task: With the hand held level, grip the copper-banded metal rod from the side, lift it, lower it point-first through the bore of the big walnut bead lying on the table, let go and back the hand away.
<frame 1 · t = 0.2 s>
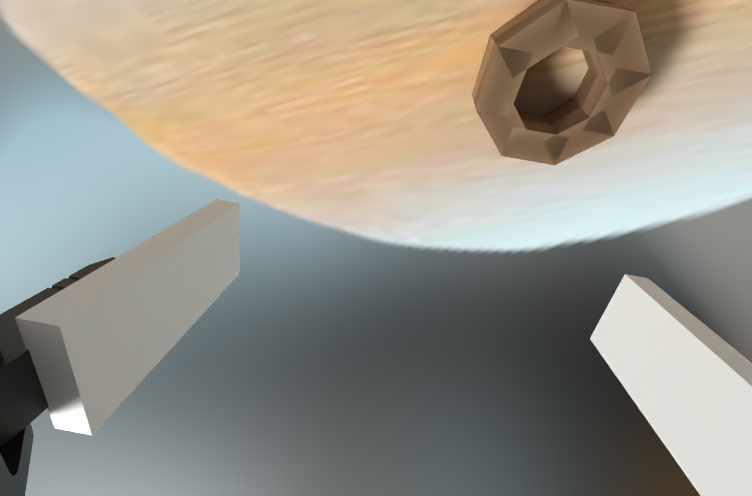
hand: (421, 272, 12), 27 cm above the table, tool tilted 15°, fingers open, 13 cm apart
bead: (545, 77, 32), on the table
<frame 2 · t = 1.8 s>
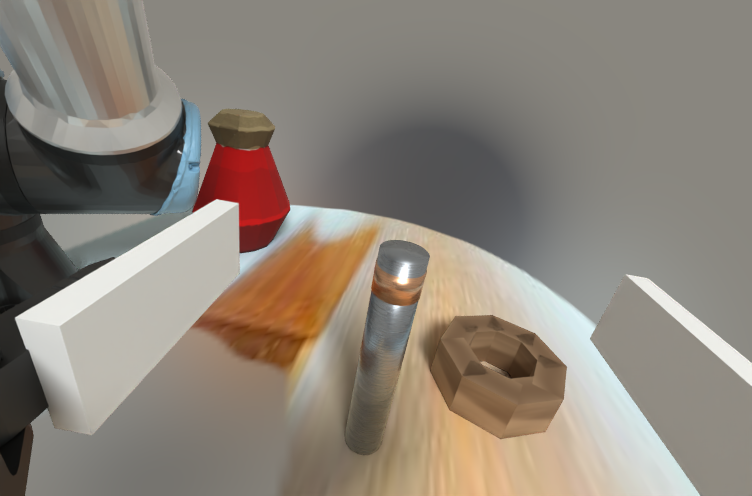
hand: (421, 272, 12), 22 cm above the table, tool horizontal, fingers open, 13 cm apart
bottle: (245, 241, 58), on the table
copper-banded metal rod: (363, 436, 30), on the table
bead: (489, 384, 38), on the table
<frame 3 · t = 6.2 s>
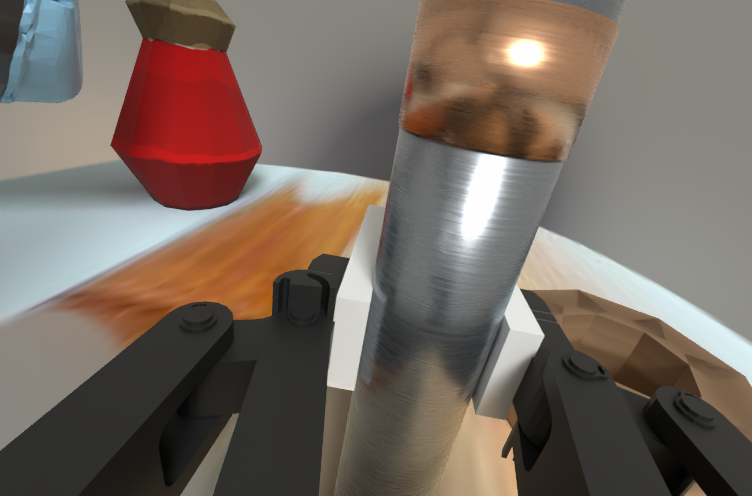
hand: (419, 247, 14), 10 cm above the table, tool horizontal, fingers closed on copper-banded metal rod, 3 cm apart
bottle: (199, 198, 41), on the table
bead: (589, 406, 21), on the table
when the fingers open (12 cm above the table, at t = 13.0 s): copper-banded metal rod drops 2 cm, resting in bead.
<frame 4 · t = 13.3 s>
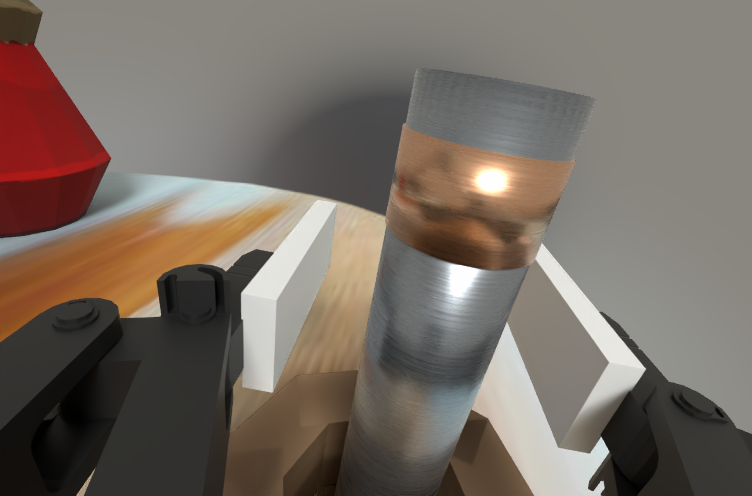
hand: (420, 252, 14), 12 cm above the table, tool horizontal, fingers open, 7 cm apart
bottle: (25, 220, 35), on the table
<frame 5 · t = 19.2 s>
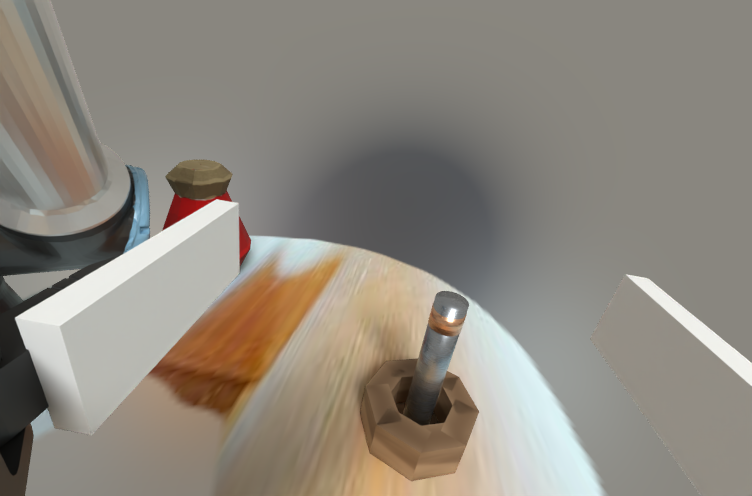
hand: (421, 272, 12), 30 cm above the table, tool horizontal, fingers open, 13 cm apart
bottle: (208, 278, 61), on the table
copper-banded metal rod: (413, 425, 41), resting in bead
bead: (413, 425, 41), on the table
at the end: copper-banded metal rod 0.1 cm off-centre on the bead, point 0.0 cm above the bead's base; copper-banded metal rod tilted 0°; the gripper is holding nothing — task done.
